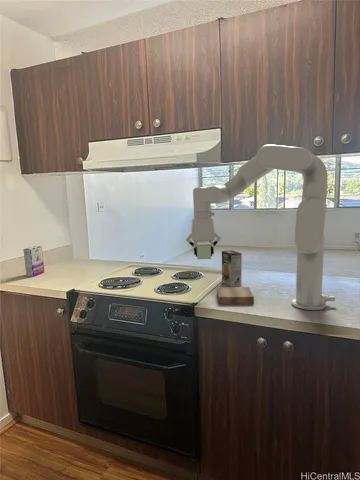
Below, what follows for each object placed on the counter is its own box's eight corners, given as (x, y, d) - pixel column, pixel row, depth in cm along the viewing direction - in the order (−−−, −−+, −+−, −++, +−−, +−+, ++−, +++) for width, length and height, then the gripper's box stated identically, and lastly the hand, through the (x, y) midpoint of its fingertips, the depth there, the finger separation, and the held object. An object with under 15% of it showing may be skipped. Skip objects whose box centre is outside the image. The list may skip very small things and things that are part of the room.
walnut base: (248, 293, 146) (248, 286, 146) (253, 303, 133) (253, 296, 132) (217, 293, 147) (217, 287, 147) (219, 304, 133) (219, 297, 133)
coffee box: (221, 282, 166) (221, 250, 163) (232, 280, 168) (232, 249, 166) (230, 286, 157) (230, 253, 155) (242, 285, 159) (242, 252, 157)
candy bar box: (37, 272, 200) (34, 245, 198) (44, 272, 199) (42, 245, 197) (25, 276, 189) (22, 248, 187) (33, 277, 188) (30, 248, 186)
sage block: (210, 256, 149) (210, 243, 148) (211, 258, 143) (210, 245, 142) (197, 256, 149) (196, 243, 148) (197, 259, 143) (196, 245, 142)
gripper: (221, 214, 147) (222, 253, 149) (183, 215, 148) (185, 255, 150) (222, 215, 139) (224, 256, 142) (182, 217, 140) (184, 258, 143)
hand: (203, 255), depth 146 cm, fingers closed on sage block, 6 cm apart
